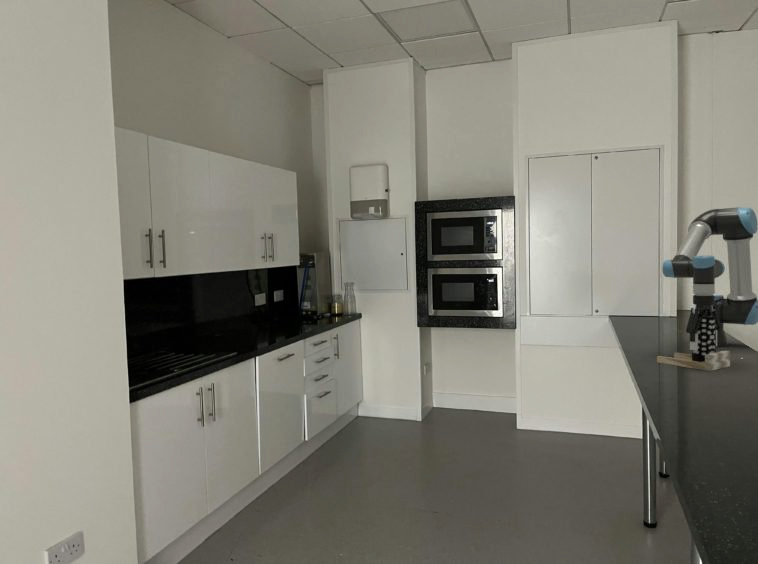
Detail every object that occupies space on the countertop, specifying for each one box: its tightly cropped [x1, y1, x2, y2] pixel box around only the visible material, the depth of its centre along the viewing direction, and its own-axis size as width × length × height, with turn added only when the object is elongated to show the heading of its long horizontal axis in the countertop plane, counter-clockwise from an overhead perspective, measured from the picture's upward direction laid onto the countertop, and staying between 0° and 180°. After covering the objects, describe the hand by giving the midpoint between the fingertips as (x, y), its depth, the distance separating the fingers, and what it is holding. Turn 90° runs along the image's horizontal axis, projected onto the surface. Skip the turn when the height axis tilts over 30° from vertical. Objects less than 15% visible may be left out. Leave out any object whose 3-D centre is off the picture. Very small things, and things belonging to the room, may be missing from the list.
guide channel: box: [656, 350, 731, 372], centre depth 239 cm, size 14×22×6 cm, turn 31°
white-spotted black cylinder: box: [691, 316, 717, 363], centre depth 235 cm, size 8×8×20 cm
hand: (703, 348), depth 235 cm, fingers open, 13 cm apart
